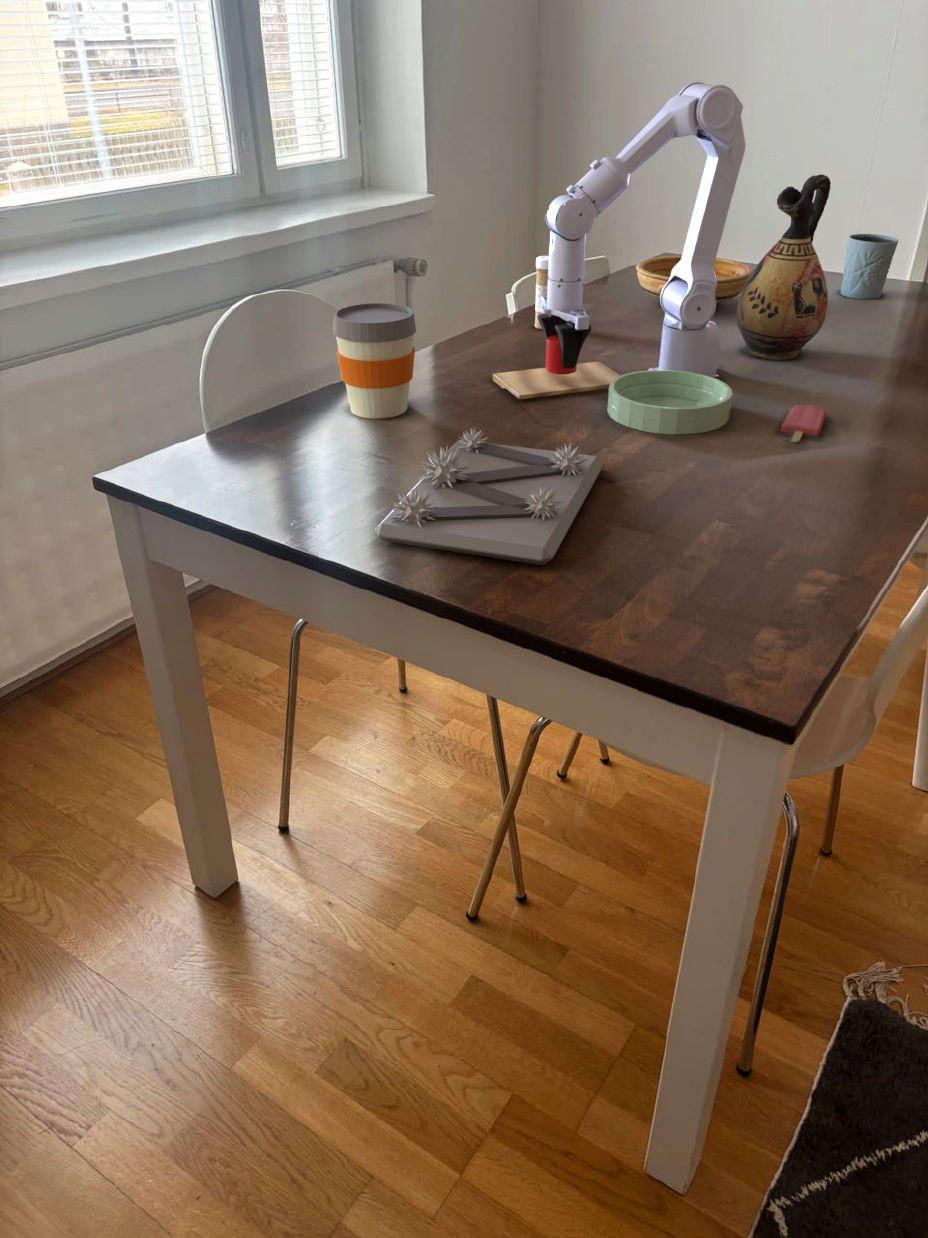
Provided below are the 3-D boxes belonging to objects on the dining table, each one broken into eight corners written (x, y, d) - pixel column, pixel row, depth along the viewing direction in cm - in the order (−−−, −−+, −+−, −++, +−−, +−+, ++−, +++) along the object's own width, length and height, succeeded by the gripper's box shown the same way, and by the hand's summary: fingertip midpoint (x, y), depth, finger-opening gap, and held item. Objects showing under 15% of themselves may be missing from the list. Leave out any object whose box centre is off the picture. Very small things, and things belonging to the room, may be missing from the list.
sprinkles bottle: (557, 324, 193) (561, 254, 186) (555, 330, 190) (558, 259, 182) (535, 323, 194) (537, 254, 187) (532, 329, 190) (534, 259, 183)
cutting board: (598, 367, 169) (598, 361, 168) (630, 388, 159) (630, 381, 159) (492, 380, 163) (492, 373, 163) (519, 402, 154) (519, 395, 153)
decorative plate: (549, 573, 106) (552, 515, 102) (371, 545, 112) (367, 489, 108) (604, 470, 130) (608, 420, 126) (455, 452, 136) (454, 404, 132)
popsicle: (776, 433, 137) (793, 401, 148) (774, 444, 138) (791, 411, 149) (815, 439, 135) (829, 406, 146) (813, 449, 136) (827, 416, 147)
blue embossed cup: (834, 288, 218) (844, 232, 212) (880, 289, 217) (892, 233, 211) (842, 299, 210) (854, 241, 203) (890, 300, 208) (903, 242, 202)
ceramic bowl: (657, 285, 222) (661, 249, 218) (762, 296, 212) (768, 258, 208) (611, 314, 200) (614, 274, 196) (726, 328, 190) (732, 287, 186)
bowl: (688, 391, 158) (691, 364, 155) (752, 429, 143) (756, 400, 140) (587, 404, 152) (589, 377, 150) (642, 445, 138) (645, 415, 135)
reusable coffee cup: (365, 391, 159) (359, 298, 151) (432, 402, 154) (430, 307, 146) (323, 415, 149) (315, 317, 141) (393, 427, 144) (389, 327, 136)
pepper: (568, 363, 163) (570, 324, 159) (581, 372, 158) (584, 332, 155) (540, 366, 161) (542, 327, 158) (553, 375, 157) (555, 335, 154)
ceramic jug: (787, 371, 166) (820, 184, 151) (714, 352, 176) (738, 175, 160) (839, 352, 176) (875, 174, 160) (767, 335, 186) (794, 166, 170)
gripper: (525, 270, 157) (522, 353, 164) (561, 290, 145) (557, 377, 152) (564, 267, 159) (560, 348, 166) (603, 286, 147) (597, 373, 154)
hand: (561, 362), depth 159 cm, fingers closed on pepper, 5 cm apart
